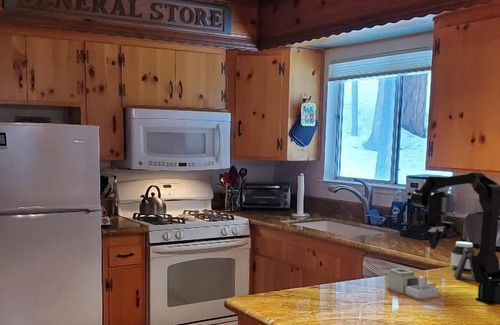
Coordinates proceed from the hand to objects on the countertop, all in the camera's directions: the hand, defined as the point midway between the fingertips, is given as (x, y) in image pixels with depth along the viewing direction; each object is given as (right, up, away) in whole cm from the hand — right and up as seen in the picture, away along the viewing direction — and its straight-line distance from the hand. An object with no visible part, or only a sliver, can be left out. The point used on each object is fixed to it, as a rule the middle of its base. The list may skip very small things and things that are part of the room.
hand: (433, 248), depth 194 cm
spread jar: (+22, -13, +27) cm, 38 cm away
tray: (-11, -13, -19) cm, 26 cm away
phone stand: (+17, -14, +9) cm, 23 cm away
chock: (-7, -13, -10) cm, 18 cm away
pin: (-11, -12, -19) cm, 25 cm away
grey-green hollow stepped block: (-15, -13, -12) cm, 23 cm away
